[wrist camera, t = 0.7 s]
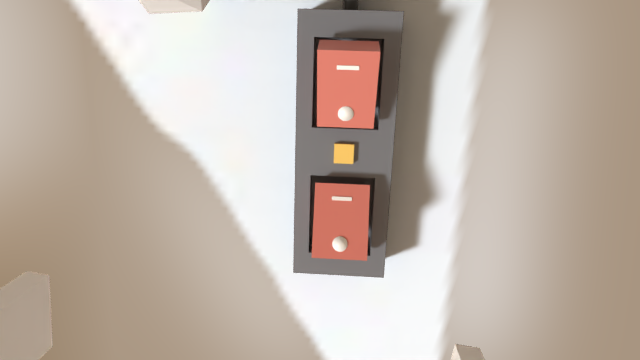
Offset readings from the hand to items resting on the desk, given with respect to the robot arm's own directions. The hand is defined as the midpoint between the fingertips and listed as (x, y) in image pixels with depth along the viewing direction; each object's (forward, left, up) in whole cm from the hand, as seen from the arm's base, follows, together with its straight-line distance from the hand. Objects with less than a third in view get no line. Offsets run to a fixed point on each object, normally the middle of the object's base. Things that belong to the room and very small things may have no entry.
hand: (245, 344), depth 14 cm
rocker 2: (+2, +5, -23) cm, 23 cm away
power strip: (-5, +1, -26) cm, 27 cm away
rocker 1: (-8, -1, -23) cm, 24 cm away
